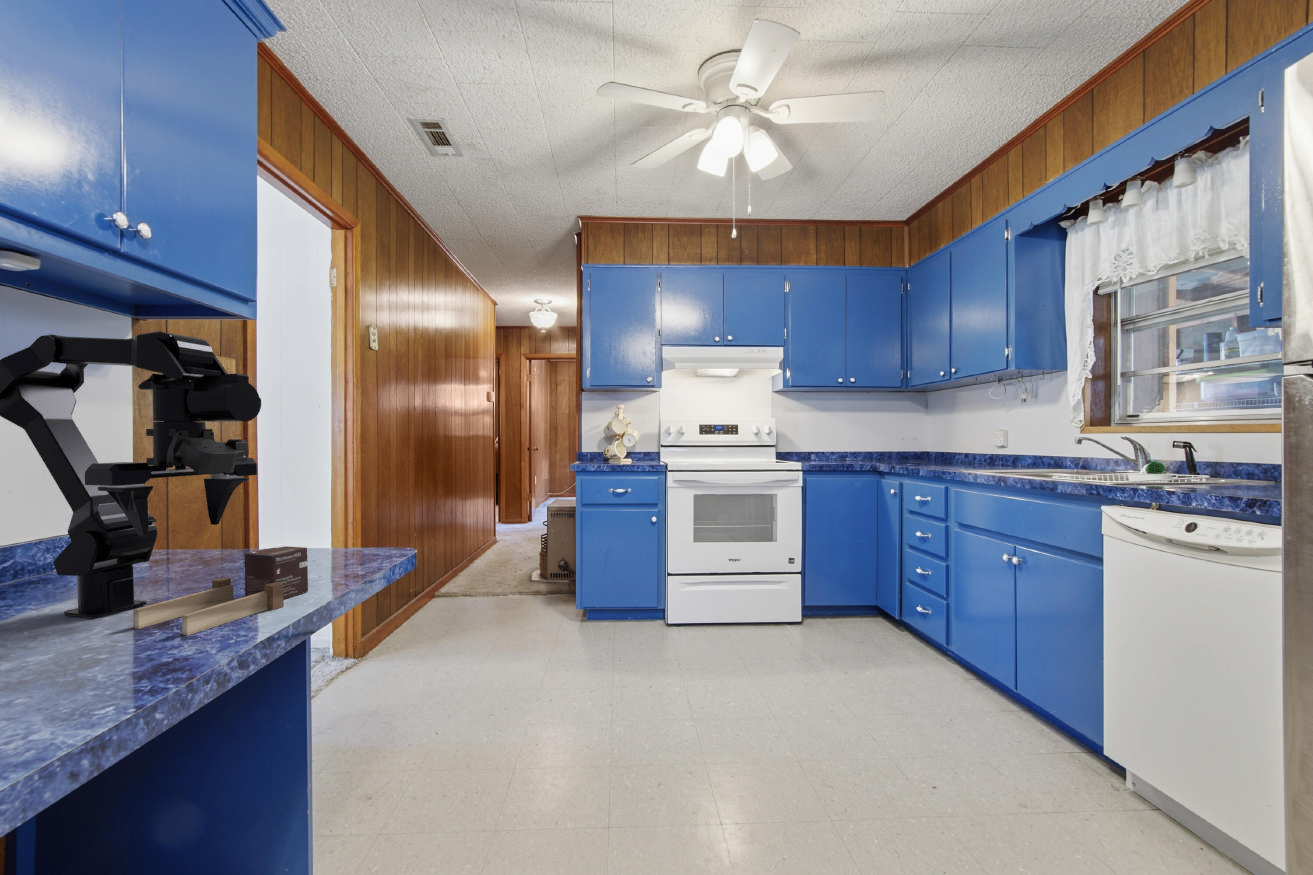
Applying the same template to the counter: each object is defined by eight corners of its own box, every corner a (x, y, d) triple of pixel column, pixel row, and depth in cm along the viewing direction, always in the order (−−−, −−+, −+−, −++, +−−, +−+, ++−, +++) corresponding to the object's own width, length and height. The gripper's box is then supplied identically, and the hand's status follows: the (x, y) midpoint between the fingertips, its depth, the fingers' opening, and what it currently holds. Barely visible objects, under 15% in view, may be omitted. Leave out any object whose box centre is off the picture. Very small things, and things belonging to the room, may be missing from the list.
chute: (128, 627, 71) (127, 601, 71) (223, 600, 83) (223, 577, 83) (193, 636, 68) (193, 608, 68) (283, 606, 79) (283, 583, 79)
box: (272, 603, 81) (272, 555, 81) (243, 600, 83) (242, 553, 83) (309, 592, 87) (308, 547, 87) (281, 589, 89) (280, 545, 89)
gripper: (142, 420, 66) (143, 546, 66) (284, 422, 84) (284, 522, 84) (81, 420, 69) (82, 541, 69) (230, 423, 87) (231, 519, 87)
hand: (180, 529), depth 77 cm, fingers open, 9 cm apart
